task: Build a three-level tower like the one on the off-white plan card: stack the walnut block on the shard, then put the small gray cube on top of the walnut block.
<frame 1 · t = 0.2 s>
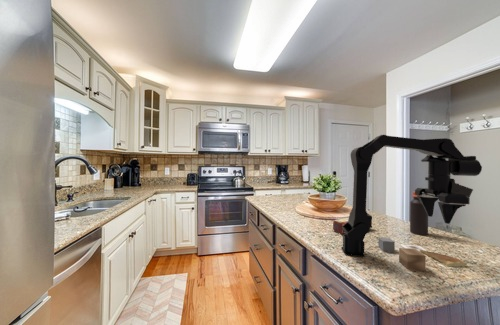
hand: (438, 219, 71), 14 cm above the counter, tool pointing down, fingers open, 9 cm apart
shard: (441, 262, 71), on the counter
walnut block: (411, 266, 66), on the counter
plan card: (413, 248, 80), on the counter
bottle: (418, 233, 99), on the counter
gray cube: (386, 249, 79), on the counter
snack package: (352, 231, 102), on the counter
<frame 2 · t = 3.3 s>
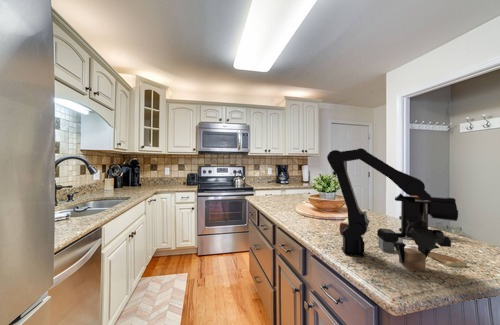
hand: (411, 263, 66), 1 cm above the counter, tool pointing down, fingers closed on walnut block, 5 cm apart
walnut block: (411, 266, 66), on the counter, touching gripper
when the fingers open (4 cm above the counter, at t = 8.4 s): walnut block drops 2 cm, resting on shard.
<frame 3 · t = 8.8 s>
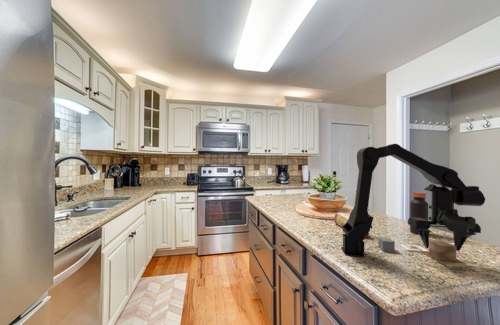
hand: (442, 249, 71), 4 cm above the counter, tool pointing down, fingers open, 9 cm apart
shard: (441, 263, 71), on the counter, touching walnut block
walnut block: (442, 257, 71), point 1 cm above the counter, touching shard
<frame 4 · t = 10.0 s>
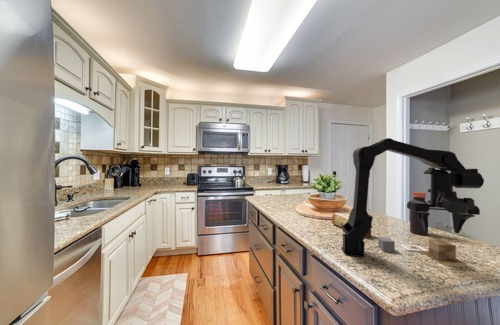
hand: (441, 232, 71), 10 cm above the counter, tool pointing down, fingers open, 9 cm apart
shard: (441, 263, 71), on the counter
walnut block: (441, 256, 71), point 1 cm above the counter
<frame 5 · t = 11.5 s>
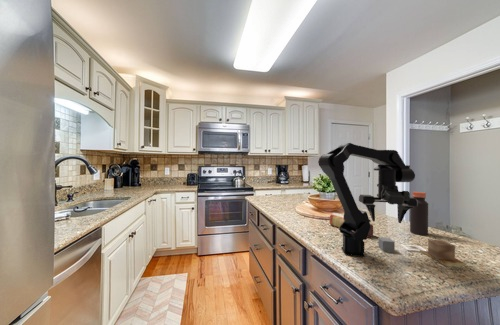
hand: (386, 222, 79), 11 cm above the counter, tool pointing down, fingers open, 9 cm apart
shard: (441, 263, 71), on the counter, touching walnut block
walnut block: (440, 256, 71), point 1 cm above the counter, touching shard
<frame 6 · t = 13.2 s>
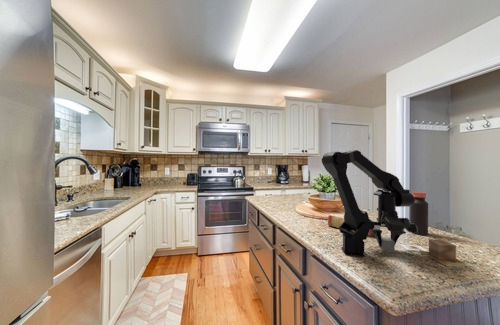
hand: (386, 246, 79), 1 cm above the counter, tool pointing down, fingers closed on gray cube, 4 cm apart
gray cube: (386, 249, 79), on the counter, touching gripper
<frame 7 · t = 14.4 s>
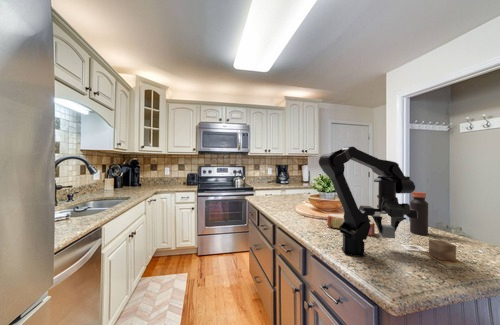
hand: (386, 233, 79), 6 cm above the counter, tool pointing down, fingers closed on gray cube, 4 cm apart
gray cube: (386, 236, 79), point 5 cm above the counter, touching gripper
when the fingers open (9 cm above the counter, at t = 17.2 s): gray cube drops 2 cm, resting on walnut block.
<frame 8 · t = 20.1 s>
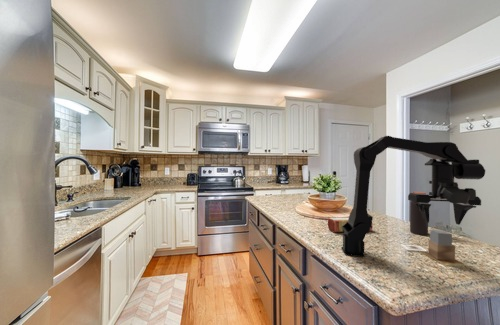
hand: (442, 223, 71), 13 cm above the counter, tool pointing down, fingers open, 9 cm apart
walnut block: (441, 256, 72), point 1 cm above the counter, touching shard, gray cube
gray cube: (440, 243, 71), point 6 cm above the counter, touching walnut block
at the end: walnut block 1.3 cm off-centre on the shard, point 2.0 cm above the shard's base; gray cube 0.6 cm off-centre on the walnut block, point 5.0 cm above the walnut block's base; gray cube tilted 0° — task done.
